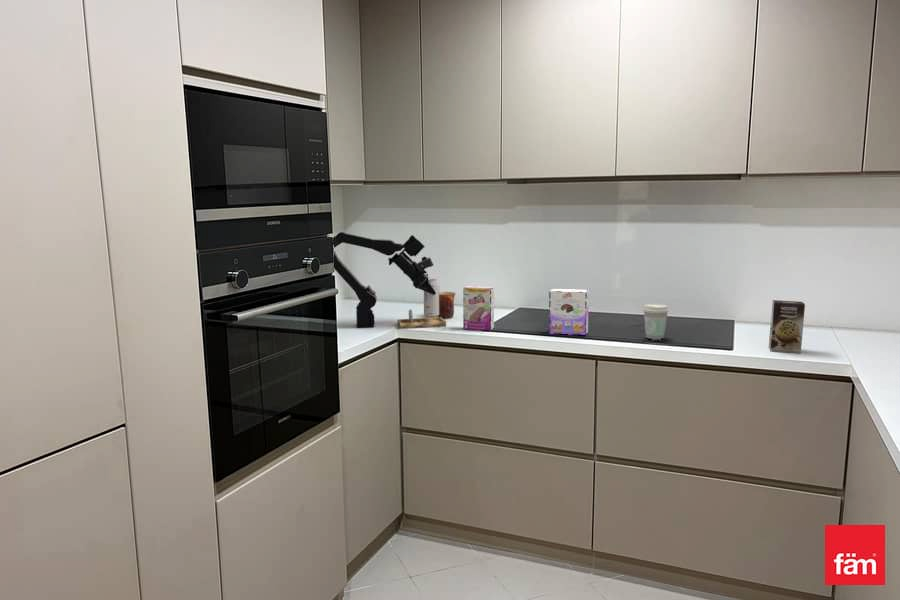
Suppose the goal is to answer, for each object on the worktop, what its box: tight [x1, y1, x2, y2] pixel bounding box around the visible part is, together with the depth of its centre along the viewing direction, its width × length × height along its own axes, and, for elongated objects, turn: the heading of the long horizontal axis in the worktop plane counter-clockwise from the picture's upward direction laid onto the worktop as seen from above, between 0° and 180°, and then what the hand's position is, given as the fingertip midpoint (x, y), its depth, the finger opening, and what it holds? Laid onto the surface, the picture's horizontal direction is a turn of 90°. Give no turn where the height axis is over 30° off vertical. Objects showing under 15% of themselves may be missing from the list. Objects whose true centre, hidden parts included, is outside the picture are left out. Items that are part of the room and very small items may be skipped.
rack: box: [396, 317, 447, 330], centre depth 262 cm, size 18×9×2 cm, turn 102°
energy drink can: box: [423, 278, 440, 318], centre depth 261 cm, size 6×6×15 cm
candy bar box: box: [462, 285, 495, 332], centre depth 252 cm, size 11×5×16 cm, turn 72°
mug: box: [438, 291, 456, 320], centre depth 276 cm, size 12×9×10 cm
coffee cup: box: [642, 303, 669, 339], centre depth 233 cm, size 8×8×12 cm
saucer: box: [408, 308, 414, 323], centre depth 260 cm, size 1×6×6 cm, turn 12°
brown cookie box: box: [768, 299, 806, 354], centre depth 215 cm, size 9×6×16 cm
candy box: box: [548, 288, 590, 336], centre depth 243 cm, size 14×6×16 cm, turn 70°
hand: (434, 292), depth 261 cm, fingers closed on energy drink can, 6 cm apart
